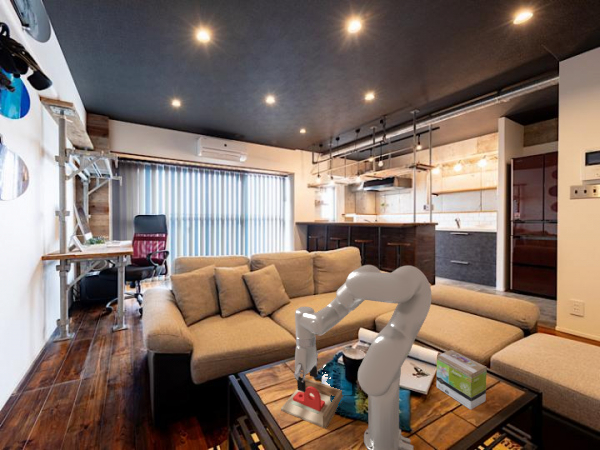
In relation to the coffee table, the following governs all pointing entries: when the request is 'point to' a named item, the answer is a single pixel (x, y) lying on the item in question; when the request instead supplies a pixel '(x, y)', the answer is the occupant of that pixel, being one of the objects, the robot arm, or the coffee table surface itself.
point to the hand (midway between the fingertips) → (307, 383)
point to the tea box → (461, 378)
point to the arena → (312, 414)
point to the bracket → (310, 398)
